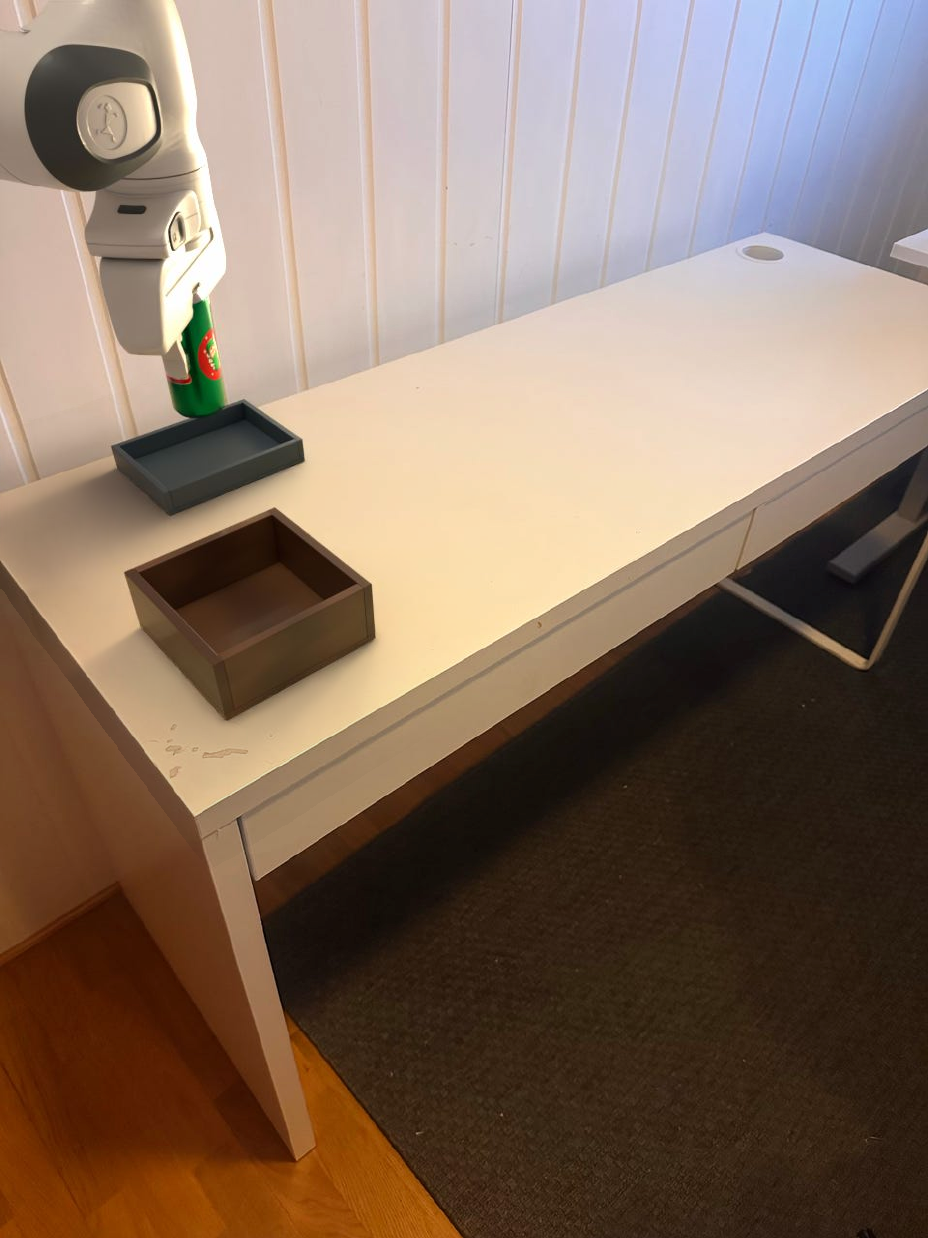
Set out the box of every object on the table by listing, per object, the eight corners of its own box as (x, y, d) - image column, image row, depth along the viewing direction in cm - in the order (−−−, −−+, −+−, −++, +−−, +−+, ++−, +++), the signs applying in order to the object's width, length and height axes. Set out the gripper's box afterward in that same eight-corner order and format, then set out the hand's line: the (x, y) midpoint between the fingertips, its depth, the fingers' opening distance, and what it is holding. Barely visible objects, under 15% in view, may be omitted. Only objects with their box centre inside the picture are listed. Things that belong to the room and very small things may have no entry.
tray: (169, 515, 84) (164, 493, 82) (116, 467, 90) (110, 445, 89) (305, 460, 92) (302, 439, 90) (247, 419, 98) (244, 398, 96)
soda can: (164, 406, 87) (136, 283, 79) (211, 391, 89) (188, 270, 82) (189, 426, 84) (162, 300, 76) (237, 410, 87) (216, 286, 79)
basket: (226, 721, 65) (212, 665, 61) (140, 626, 72) (123, 571, 69) (376, 638, 72) (372, 583, 68) (283, 559, 79) (274, 506, 75)
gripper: (161, 165, 82) (189, 312, 91) (74, 241, 67) (119, 409, 76) (228, 168, 82) (250, 315, 91) (157, 244, 67) (192, 412, 76)
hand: (190, 358), depth 83 cm, fingers closed on soda can, 5 cm apart
